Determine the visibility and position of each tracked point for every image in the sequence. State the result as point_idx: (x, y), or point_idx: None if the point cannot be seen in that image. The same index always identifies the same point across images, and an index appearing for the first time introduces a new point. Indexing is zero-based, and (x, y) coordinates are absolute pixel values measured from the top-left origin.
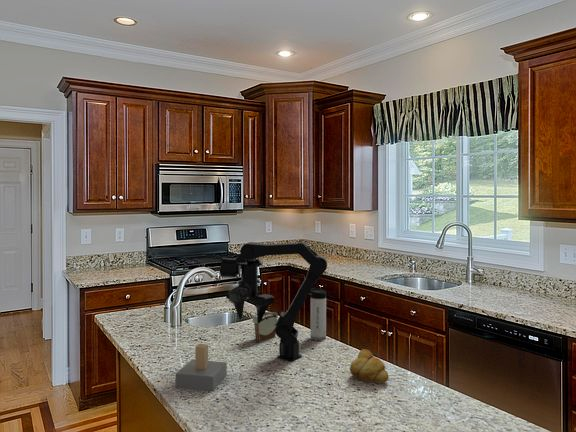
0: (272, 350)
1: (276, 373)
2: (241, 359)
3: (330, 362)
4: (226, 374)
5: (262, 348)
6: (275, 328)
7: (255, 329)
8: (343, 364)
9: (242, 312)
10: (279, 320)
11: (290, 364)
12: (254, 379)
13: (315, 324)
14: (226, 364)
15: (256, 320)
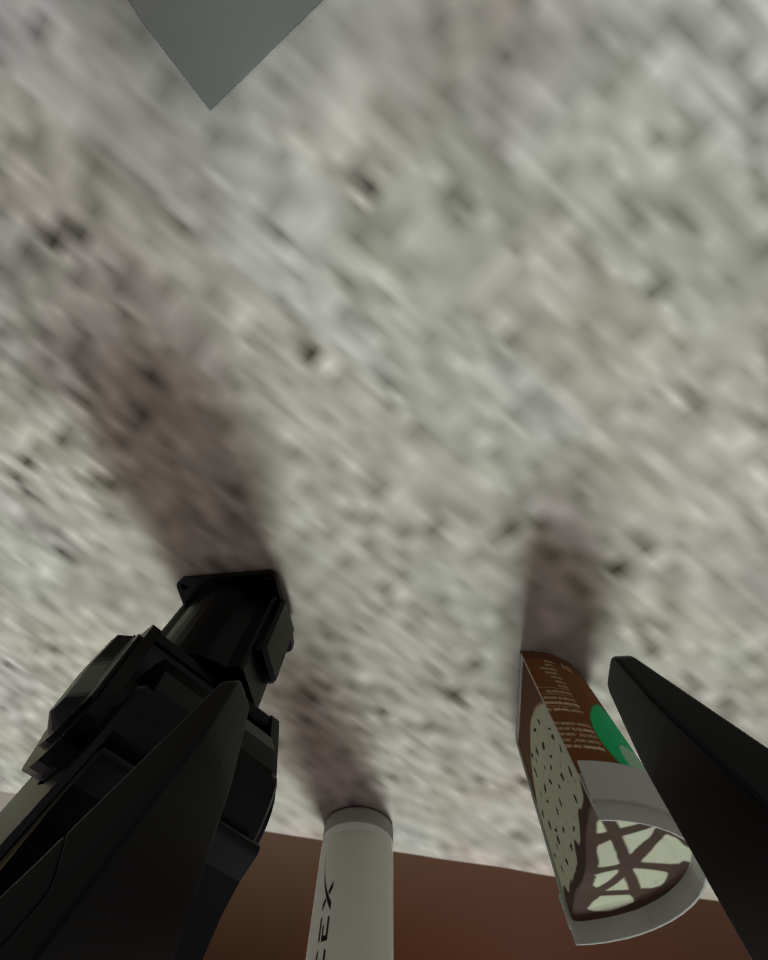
0: (382, 622)
1: (74, 411)
2: (398, 415)
3: (75, 678)
4: (201, 98)
5: (446, 610)
6: (123, 716)
7: (591, 719)
8: (26, 693)
9: (667, 799)
10: (17, 846)
11: (152, 551)
12: (48, 235)
13: (335, 912)
14: (149, 30)
15: (605, 792)
